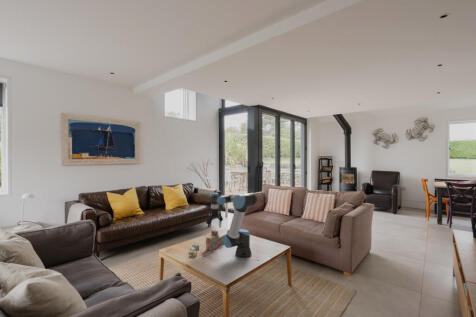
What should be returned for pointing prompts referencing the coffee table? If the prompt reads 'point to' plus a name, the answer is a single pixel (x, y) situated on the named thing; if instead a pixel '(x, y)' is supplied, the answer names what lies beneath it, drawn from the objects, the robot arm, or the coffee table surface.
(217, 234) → the walnut brick
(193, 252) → the maple brick
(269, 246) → the coffee table surface
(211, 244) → the stack of blocks
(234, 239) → the robot arm
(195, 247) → the grey brick
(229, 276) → the coffee table surface
